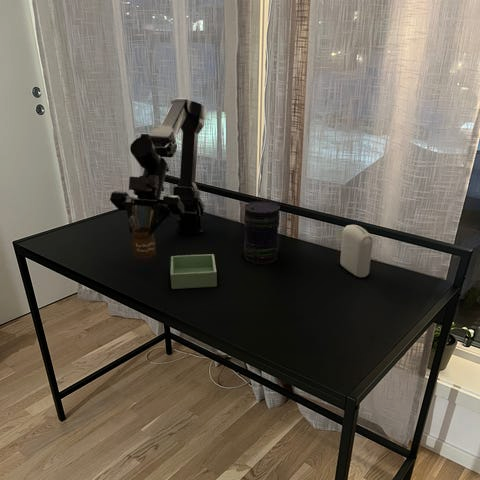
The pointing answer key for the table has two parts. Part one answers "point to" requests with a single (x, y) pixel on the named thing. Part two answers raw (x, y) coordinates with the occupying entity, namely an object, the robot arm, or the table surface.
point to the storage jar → (261, 231)
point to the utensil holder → (143, 241)
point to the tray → (193, 271)
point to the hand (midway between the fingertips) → (140, 233)
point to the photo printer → (356, 250)
